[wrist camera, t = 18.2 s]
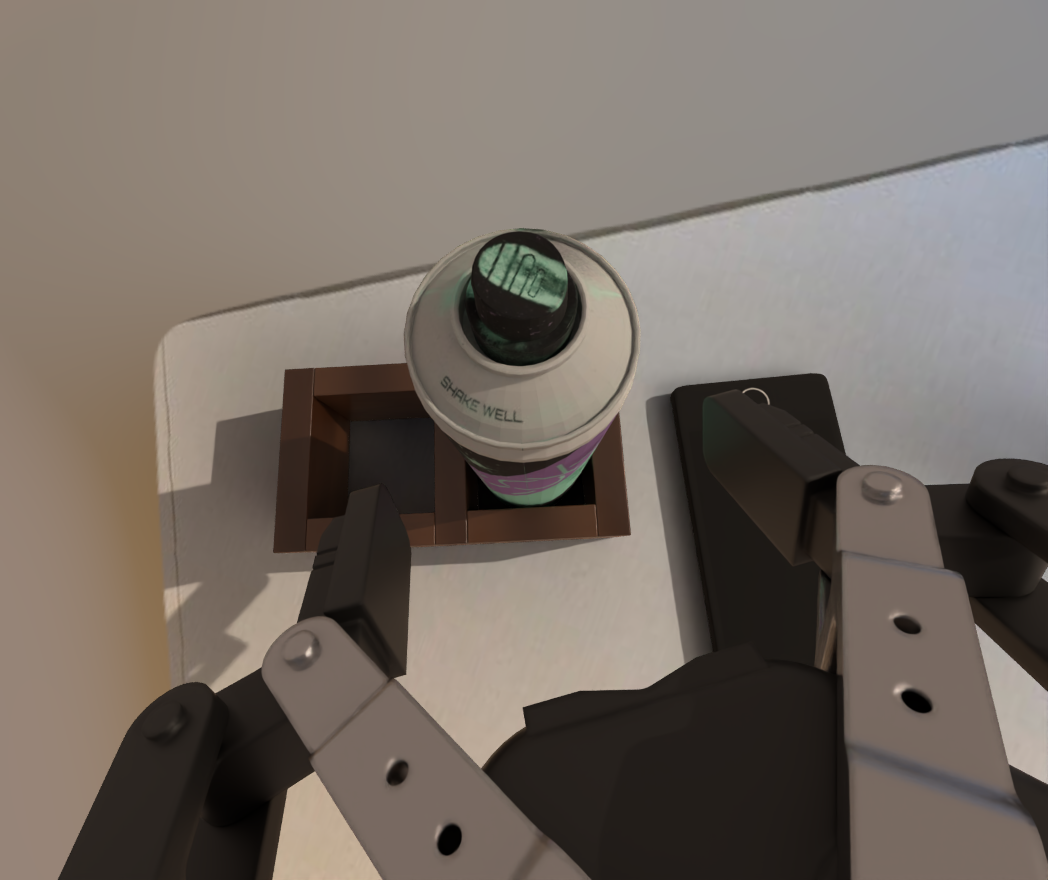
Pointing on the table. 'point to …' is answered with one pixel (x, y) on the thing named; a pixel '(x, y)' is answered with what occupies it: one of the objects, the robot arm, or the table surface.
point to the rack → (388, 393)
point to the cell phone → (751, 528)
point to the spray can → (523, 357)
